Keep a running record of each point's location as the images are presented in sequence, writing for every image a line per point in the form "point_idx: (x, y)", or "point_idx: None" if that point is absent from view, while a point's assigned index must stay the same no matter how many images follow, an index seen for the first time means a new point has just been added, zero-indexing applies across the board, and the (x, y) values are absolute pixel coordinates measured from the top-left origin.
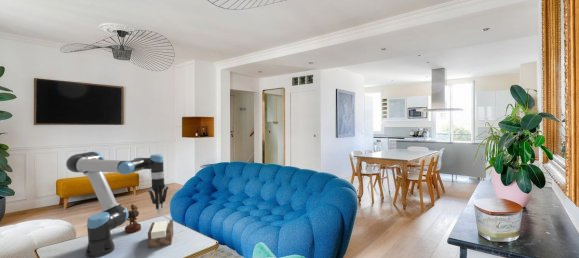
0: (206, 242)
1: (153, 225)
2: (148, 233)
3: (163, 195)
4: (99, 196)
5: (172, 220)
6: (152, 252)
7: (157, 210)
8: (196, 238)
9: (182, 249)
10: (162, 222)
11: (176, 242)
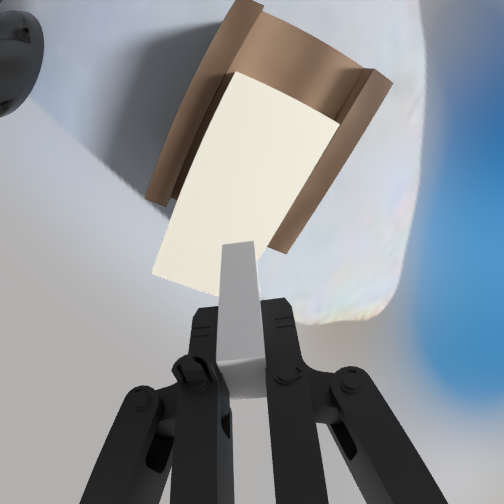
0: (375, 291)
1: (222, 69)
2: (150, 197)
3: (374, 492)
4: None
5: (386, 92)
6: None
7: (221, 274)
8: (383, 233)
9: (285, 284)
10: (286, 133)
11: None
